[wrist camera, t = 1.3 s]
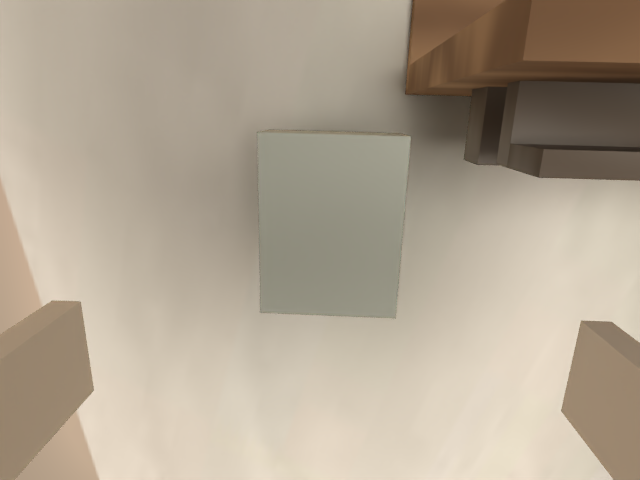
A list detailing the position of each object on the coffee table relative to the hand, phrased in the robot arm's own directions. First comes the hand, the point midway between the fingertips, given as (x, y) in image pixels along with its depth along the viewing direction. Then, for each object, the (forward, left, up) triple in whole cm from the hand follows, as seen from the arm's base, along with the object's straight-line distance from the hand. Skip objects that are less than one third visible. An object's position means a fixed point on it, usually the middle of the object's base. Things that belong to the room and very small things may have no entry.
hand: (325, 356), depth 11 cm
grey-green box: (0, 0, -16) cm, 16 cm away
